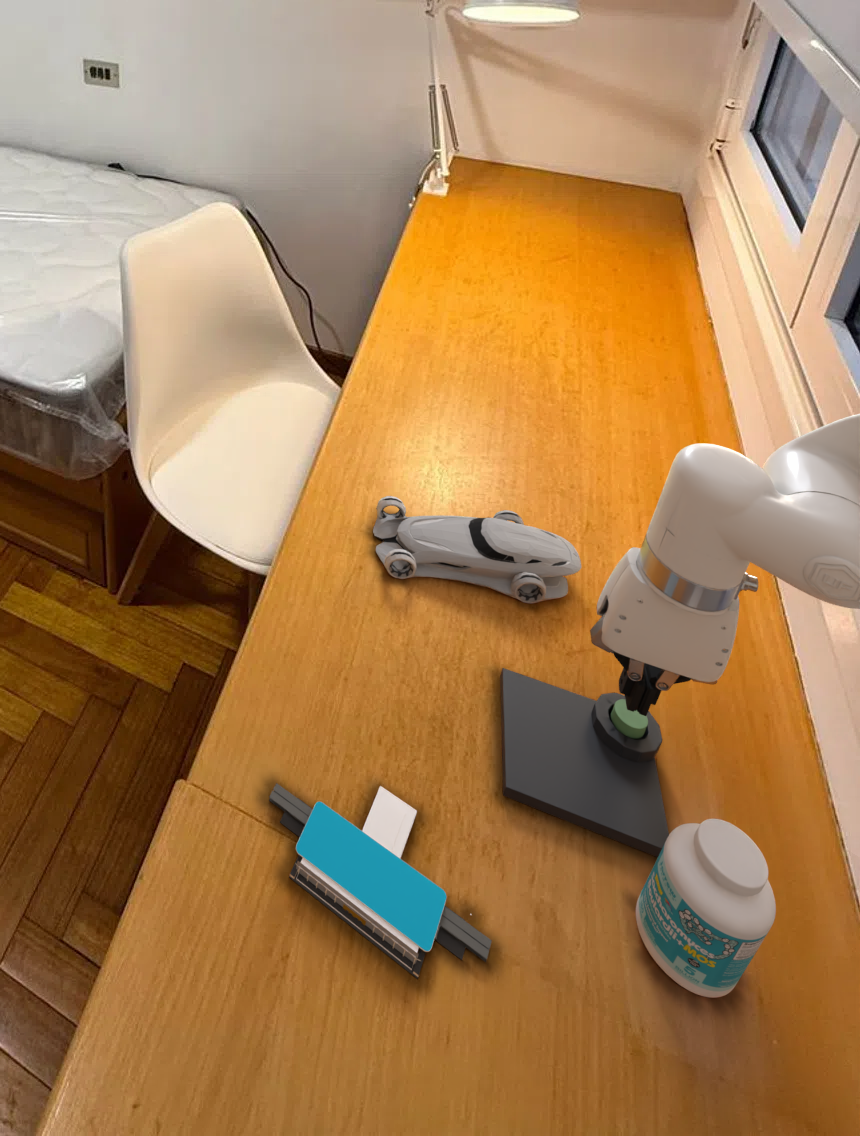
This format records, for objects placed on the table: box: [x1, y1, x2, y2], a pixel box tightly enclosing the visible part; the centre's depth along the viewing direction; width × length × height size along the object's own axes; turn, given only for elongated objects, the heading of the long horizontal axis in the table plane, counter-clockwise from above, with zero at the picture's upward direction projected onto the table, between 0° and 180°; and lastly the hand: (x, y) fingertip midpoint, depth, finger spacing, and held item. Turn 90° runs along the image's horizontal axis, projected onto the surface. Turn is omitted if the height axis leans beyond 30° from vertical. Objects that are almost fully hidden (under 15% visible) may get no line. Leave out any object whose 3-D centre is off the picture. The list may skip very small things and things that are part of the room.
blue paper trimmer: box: [268, 782, 493, 980], centre depth 76 cm, size 20×12×2 cm, turn 53°
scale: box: [499, 667, 670, 858], centre depth 84 cm, size 14×13×3 cm
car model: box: [372, 495, 582, 604], centre depth 106 cm, size 11×24×5 cm, turn 80°
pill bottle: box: [635, 818, 777, 999], centre depth 69 cm, size 8×7×14 cm
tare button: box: [611, 699, 648, 739], centre depth 85 cm, size 3×3×2 cm
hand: (633, 699), depth 84 cm, fingers closed
